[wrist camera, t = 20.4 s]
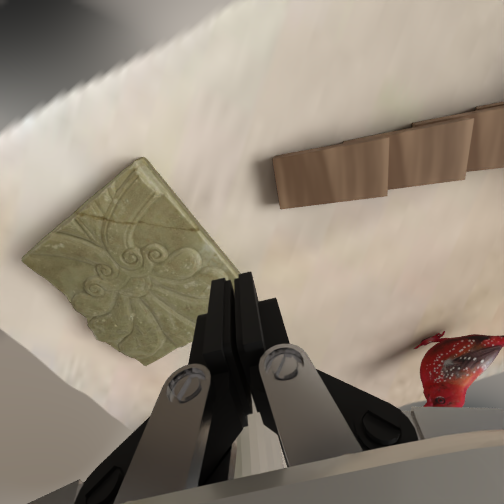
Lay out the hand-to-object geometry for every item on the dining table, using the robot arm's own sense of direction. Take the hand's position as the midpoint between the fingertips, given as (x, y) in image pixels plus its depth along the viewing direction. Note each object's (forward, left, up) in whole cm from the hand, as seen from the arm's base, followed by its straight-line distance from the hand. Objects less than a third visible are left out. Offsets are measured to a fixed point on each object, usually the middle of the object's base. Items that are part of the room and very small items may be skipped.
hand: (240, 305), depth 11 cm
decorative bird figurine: (-11, -36, -19) cm, 42 cm away
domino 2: (+6, -10, -18) cm, 21 cm away
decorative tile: (-12, +7, -19) cm, 24 cm away
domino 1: (+3, -4, -18) cm, 18 cm away
